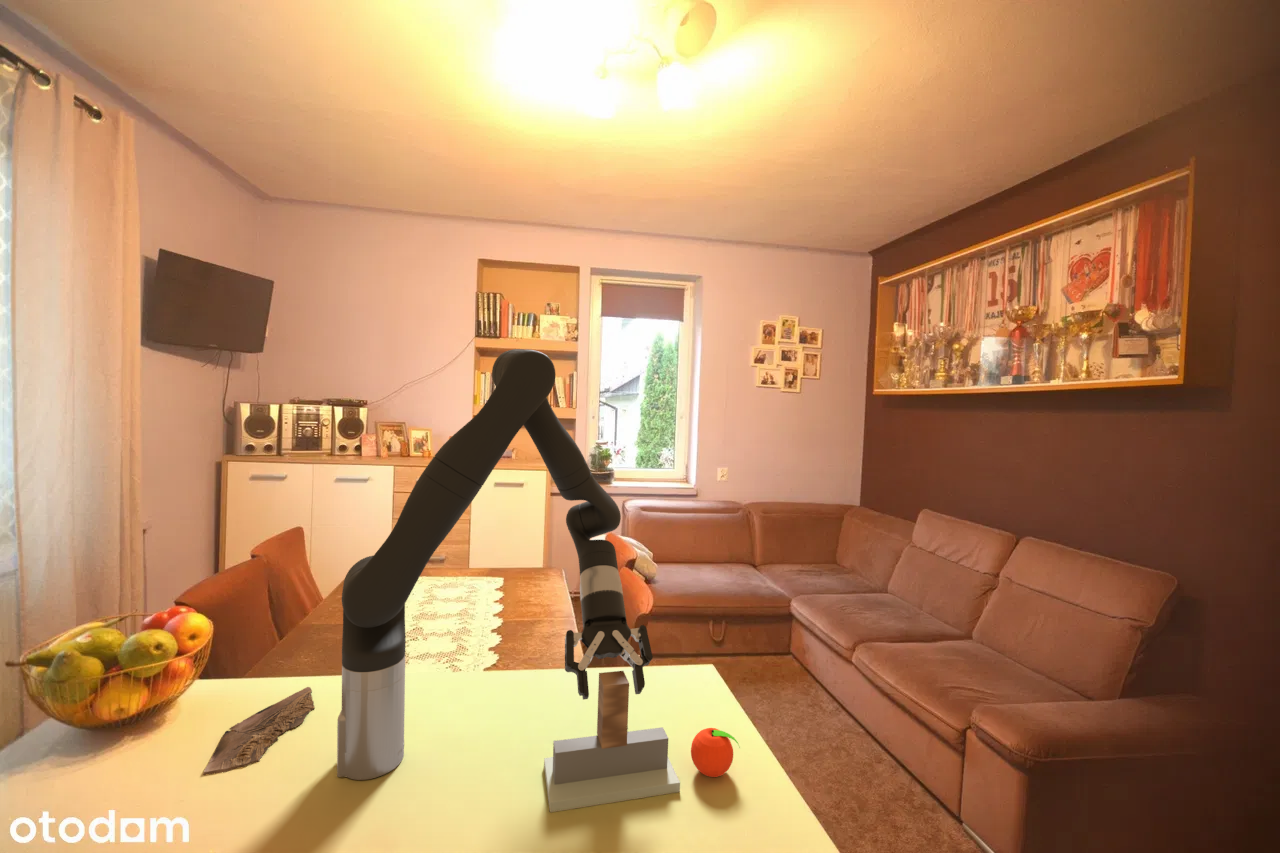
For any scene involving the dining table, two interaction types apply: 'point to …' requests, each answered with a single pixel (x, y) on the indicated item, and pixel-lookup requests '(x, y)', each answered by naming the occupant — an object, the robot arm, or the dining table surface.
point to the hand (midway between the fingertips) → (612, 695)
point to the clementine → (712, 752)
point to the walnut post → (612, 709)
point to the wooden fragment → (259, 732)
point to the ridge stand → (609, 770)
